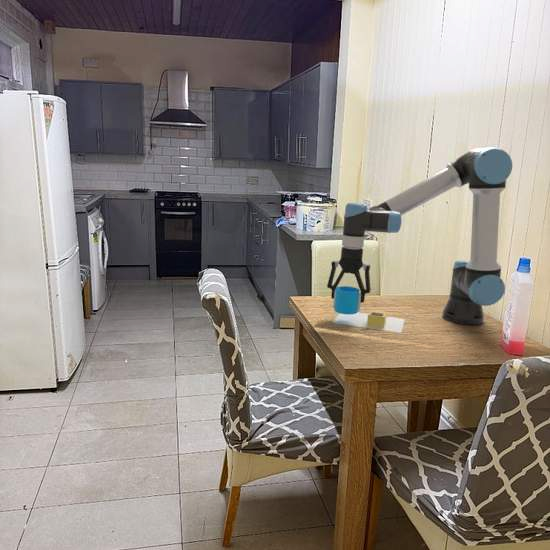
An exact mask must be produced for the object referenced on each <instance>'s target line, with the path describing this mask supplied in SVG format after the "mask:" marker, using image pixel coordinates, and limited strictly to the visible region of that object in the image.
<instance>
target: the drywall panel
mask: <svg viewBox="0 0 550 550" xmlns="http://www.w3.org/2000/svg"><path fill="white" fill-rule="evenodd" d="M368 314H369V313H364V312H357V313H356V314H350V315H348V314H341V313H338V315H337V316H336V317H335V319H334V320H333V321H332V324H338V325H345V326H351V327H358V328H363V329H364V328H365V329H371V330H372V329H373V330H378V331H384V332H391V333H399V334H402V330H403V326H404V323H405V318H398V317H393V316H392V317H391V316H387V318H386V324H385V327H384V328H380V327H373V326H367V320H368Z"/></svg>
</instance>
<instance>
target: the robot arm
mask: <svg viewBox="0 0 550 550" xmlns="http://www.w3.org/2000/svg"><path fill="white" fill-rule="evenodd" d="M512 171H513V161H512V158H511V156H510V154H509V153H508V152H507V151H505V150H504V149H502V148H499V147H493V146H489V147H488V146H487V147H477V148H474V149H471V150H469V151H467V152H466V153H464V154H462V155H460V156H459V157H457V158H456V159H454V160H453V161H450V162H448V163H447V165H446V167H445V168H444V169H441V170H440V171H438V172H437V173H434V174H432V175H431V176H429V177H426V179H424V180H422V181H419V182H418V183H416V184H414V185H412V186H411V187H409V188H407V189H405V190H403V191H402V192H400V193H398V194H396V195H394V196H393V197H391V198H389V199H387V200H385V201H384V202H382V203H379V204H377V205H373V206H371V207H369V208H368V204H366V203H362V202H361V203H359V202H349V203H346V204H345V210H344V216H343V229H342V238H341V239H342V240H341V246H342V247H341V253H340V259H339V260H333V261H331V271H330V274H329V278H328V281H327V285H326V287H327V289H330V290H331V296H330V298H331V300H332V299H333V307H332V309H335V297H336V288H337V287H339V285H340V282H341V280H342V279H343V278H344V275H345V274H352V275H354V276H355V279H356V281H357V284H358V289H359V299H358V309H357V312H358V313H361V310H362V309H361V306H362V304H364V302H365V300H366V299H365V297H366V294H369V293H370V292H371V290H372V289H371V278H370V277H371V275H370V270H371V264H366V263H364V262H363V253H364V249H363V248H364V244H365V234H366V232H375V233H386V234H387V233H388V234H391V233H393V234H397V233H399V231H400V230H401V227H402V216H403V215H405V214H407V213H409V212H411V211H412V210H414V209H416V208H418V207H419V206H422V205H423V204H426V203H427V202H429V201H431V200H433V199H435V198H437V197H438V196H440V195H442V194H444V193H446V192H448V191H450V190H451V189H453V188H455V187H457V188H462V187H463V186H466V185H467V184H468V189H469V190H470V191H471V192H472V194H473V195H472V212H471V213H472V214H471V215H472V217H471V235H470V236H471V238H470V242H471V243H470V260H456V261H454V264H453V268H452V275H451V283H450V284H451V285H450V291H449V293H450V294H449V297H448V300H447V302H446V304H445V306H444V308H443V309H442V318H443V319H445V320H446V321H449V322H452V323H455V324H458V325H459V324H460V325H467V326H477V325H481V324H483V323H484V318H485V314H484V308H483V307H487V306H492V305H495V304H497V303H498V302H499V301H500V300H501V299H502V298H503V297H504V295H505V292H506V285H505V283H504V280H503V279H502V278H501V274H502V273H501V271H502V266H501V264H499V263H498V262H497V259H498V258H497V257H498V243H499V241H498V240H499V225H500V224H499V222H500V205H501V193H502V192H503V191H504V190H505V189H506V187H507V186H506V184H507V179H508V178H509V177H510V175H511V174H512ZM339 266H340V268H341V271H340V272H339V275H338V276H337V279H336V280H335V282H334V278H335V275H336V271H337V267H339ZM362 268H363V271H364V279H365V286H364V282H363V280H362V276H361V273H360V269H362ZM333 282H334V284H333Z"/></svg>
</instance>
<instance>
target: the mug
mask: <svg viewBox="0 0 550 550" xmlns="http://www.w3.org/2000/svg"><path fill="white" fill-rule="evenodd" d="M359 293H360V288H358V287H354V286H348V285H347V286H346V285H345V286H344V285H343V286H341V285H340V286H337V288H336V297H335V308H333V309H334V312H335V313H338V314H339V313H341V314H348V315H350V314H356V313H357V309H358V299H359Z"/></svg>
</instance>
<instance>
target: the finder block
mask: <svg viewBox="0 0 550 550" xmlns="http://www.w3.org/2000/svg"><path fill="white" fill-rule="evenodd" d="M367 314H368V320H367V326H373V327H380V328H384V327H385V324H386V318H387V317H388V312H385V311H378V310H377V311H376V310H370V311H369V312H368V313H367Z"/></svg>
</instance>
